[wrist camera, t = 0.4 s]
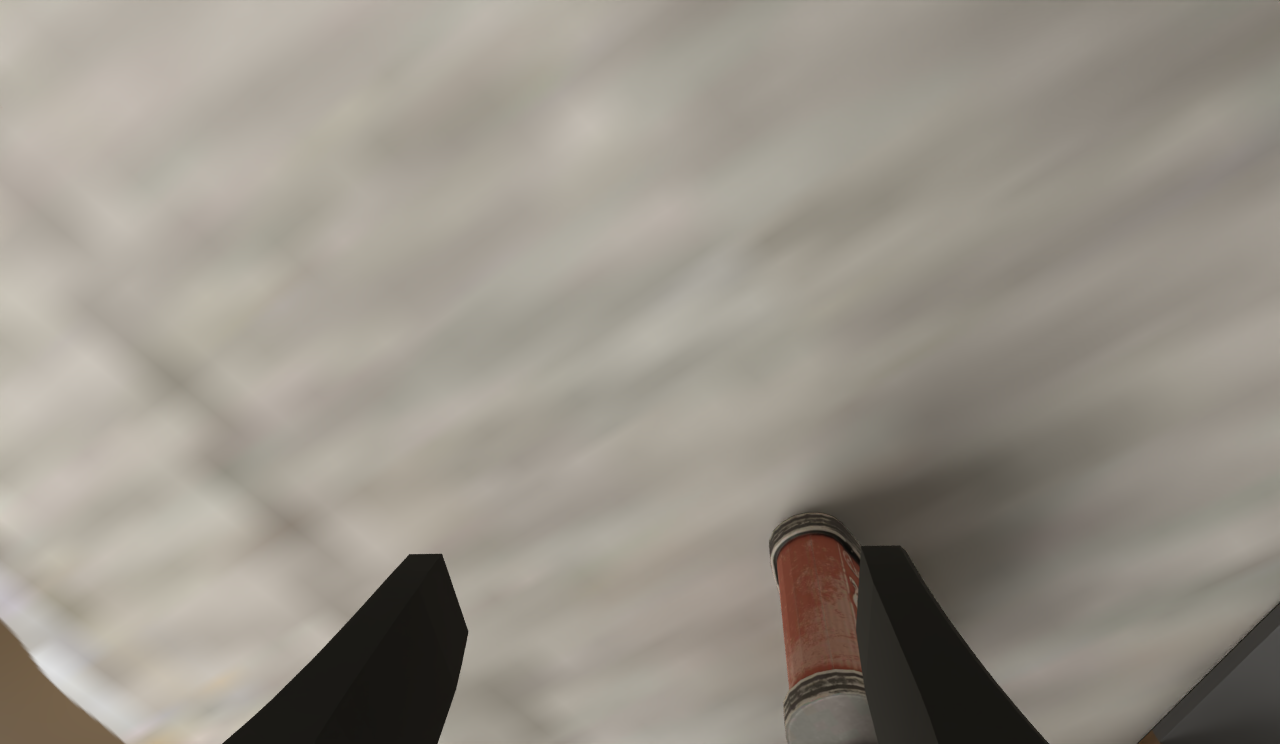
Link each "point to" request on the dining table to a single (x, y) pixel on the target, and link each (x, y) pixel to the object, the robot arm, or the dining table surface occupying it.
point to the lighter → (821, 631)
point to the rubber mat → (1233, 696)
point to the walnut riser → (1150, 739)
